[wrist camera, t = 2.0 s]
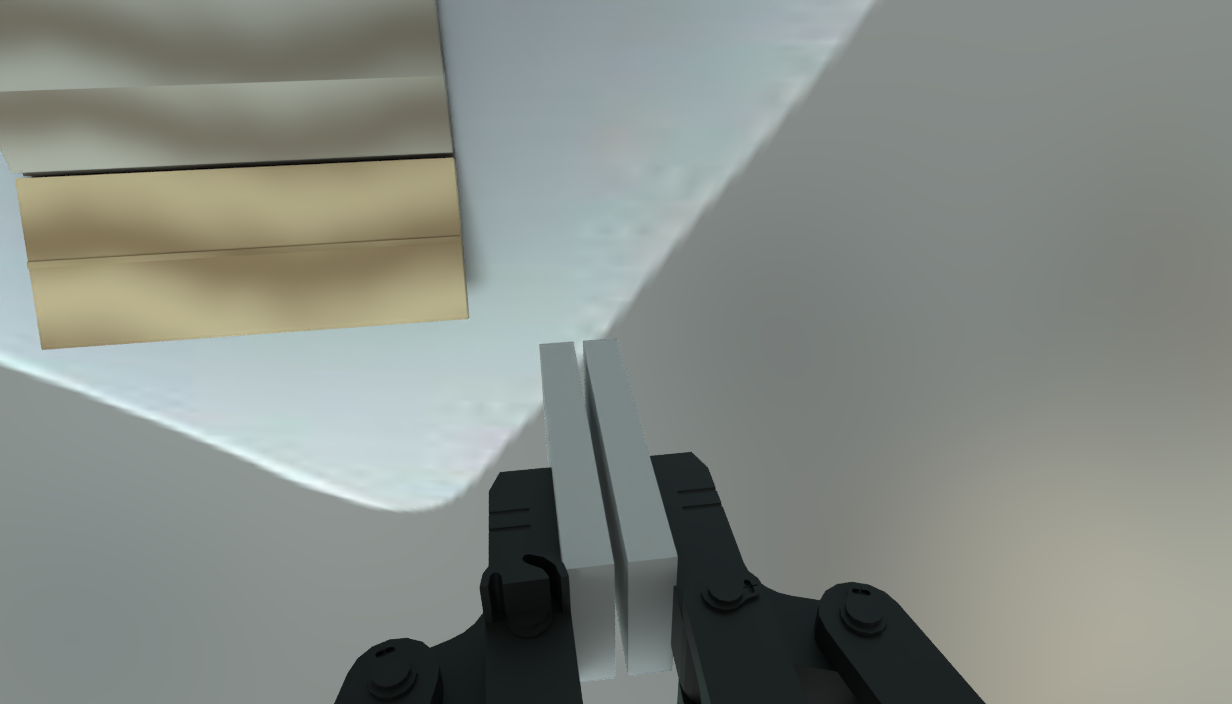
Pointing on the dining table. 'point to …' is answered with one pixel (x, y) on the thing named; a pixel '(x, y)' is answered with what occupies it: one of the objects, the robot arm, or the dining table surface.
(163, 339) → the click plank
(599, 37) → the dining table surface
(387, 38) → the laid floor
